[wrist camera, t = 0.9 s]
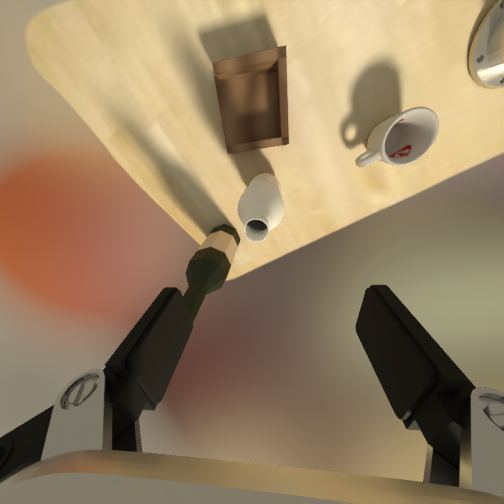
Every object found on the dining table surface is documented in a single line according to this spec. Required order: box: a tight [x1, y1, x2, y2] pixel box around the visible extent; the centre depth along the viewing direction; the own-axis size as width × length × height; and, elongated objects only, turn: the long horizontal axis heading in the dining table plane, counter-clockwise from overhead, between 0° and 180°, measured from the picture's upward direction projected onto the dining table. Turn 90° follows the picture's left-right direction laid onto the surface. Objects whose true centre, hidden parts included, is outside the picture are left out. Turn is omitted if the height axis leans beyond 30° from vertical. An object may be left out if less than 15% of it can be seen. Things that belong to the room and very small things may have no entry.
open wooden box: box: [213, 46, 289, 154], centre depth 33 cm, size 12×12×6 cm
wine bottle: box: [183, 224, 240, 324], centre depth 37 cm, size 8×8×30 cm
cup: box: [356, 107, 439, 167], centre depth 32 cm, size 11×8×8 cm
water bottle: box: [238, 173, 284, 242], centre depth 31 cm, size 7×7×25 cm
